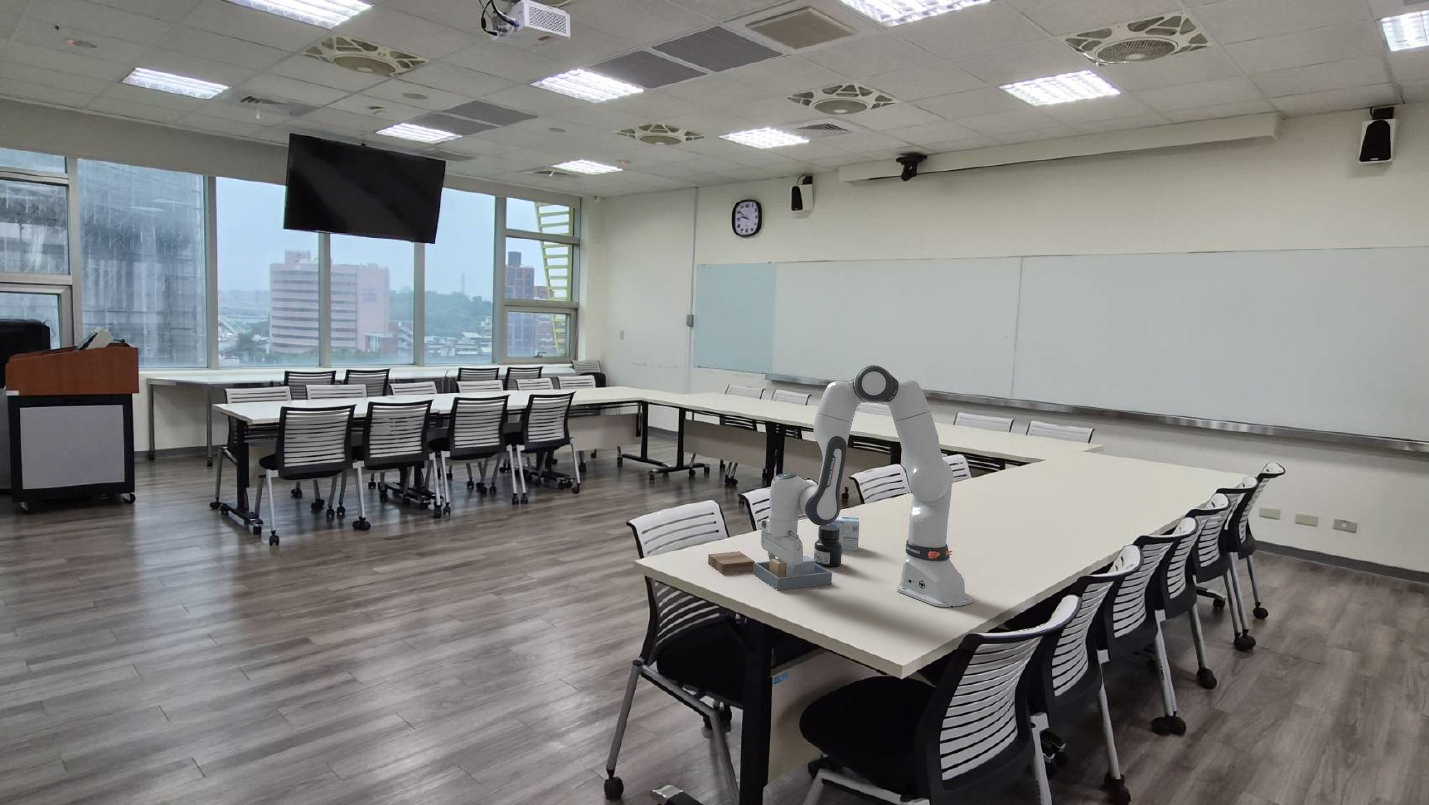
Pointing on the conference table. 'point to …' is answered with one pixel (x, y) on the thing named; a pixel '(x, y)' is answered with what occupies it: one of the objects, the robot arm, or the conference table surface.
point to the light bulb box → (848, 532)
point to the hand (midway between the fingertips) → (780, 571)
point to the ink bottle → (828, 547)
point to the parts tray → (792, 577)
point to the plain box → (805, 567)
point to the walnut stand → (730, 562)
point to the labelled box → (778, 567)
